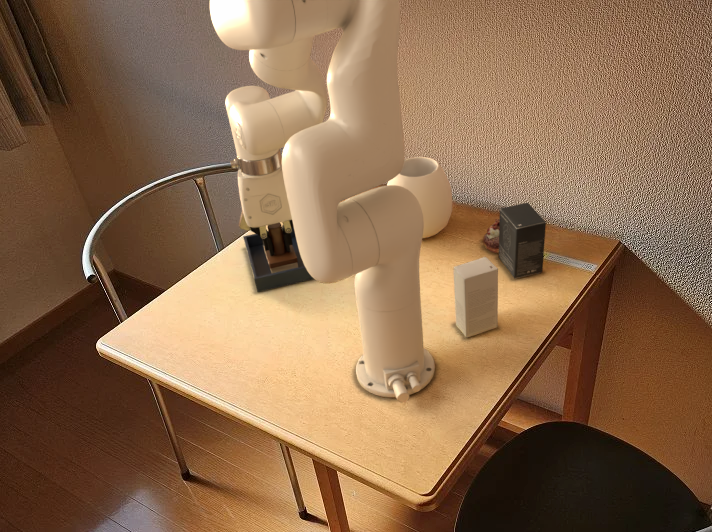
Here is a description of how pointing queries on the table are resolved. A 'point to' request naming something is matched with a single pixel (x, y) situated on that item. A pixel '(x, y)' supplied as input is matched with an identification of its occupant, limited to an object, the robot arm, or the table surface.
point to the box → (521, 240)
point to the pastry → (492, 237)
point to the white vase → (427, 191)
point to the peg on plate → (280, 251)
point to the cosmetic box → (476, 296)
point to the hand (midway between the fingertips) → (279, 249)
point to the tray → (262, 269)
